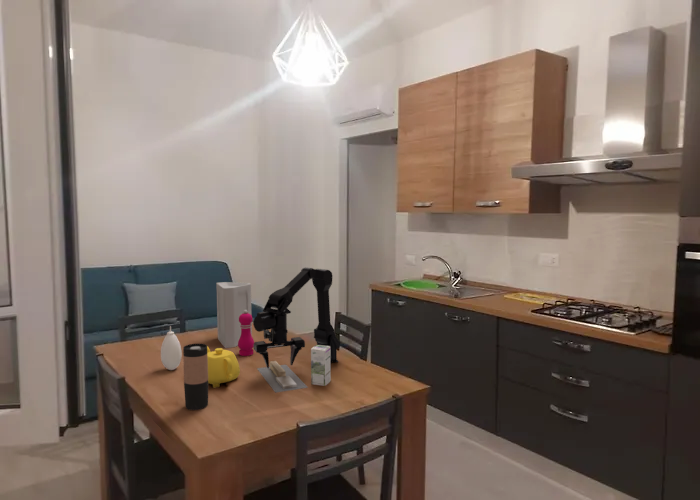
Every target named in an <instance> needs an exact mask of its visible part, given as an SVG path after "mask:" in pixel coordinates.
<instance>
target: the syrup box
mask: <svg viewBox="0 0 700 500" xmlns="http://www.w3.org/2000/svg"><path fill="white" fill-rule="evenodd" d="M330 357H331V350H330V346H322V345H317V344H316V345H314V346H313V347H311V349H310V376H311V377H310V378H311V380H310V381H311V382H310V383H311V385H315V386H324V387H326V386H327V385H328V384H329V383H330V382H331V379H332V378H331V376H332V375H331V374H332V373H331V363H330Z"/></svg>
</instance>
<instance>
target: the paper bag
mask: <svg viewBox="0 0 700 500" xmlns="http://www.w3.org/2000/svg"><path fill="white" fill-rule="evenodd" d="M244 310H247V311H248V312H247V313H249V314H251V315H252V283H251V282H229V281H224V282H223V281H222V282H216V313H217V314H216V315H217V316H216V317H217V319H216V320H217V321H216V322H217V339H218V341H219V342H220V343H221V345H222V347H223V348H225V349H229V348H235V347H238V341H239V339H240V336H241V328H240V324H241V323H240V322H239V316H240V315H241V314H243V313H244ZM251 324H252V325H253V321H252V322H251ZM252 325H251V326H252ZM252 329H253V328H252V327H251V335H252V336H253V330H252Z"/></svg>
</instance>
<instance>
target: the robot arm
mask: <svg viewBox="0 0 700 500" xmlns="http://www.w3.org/2000/svg"><path fill="white" fill-rule="evenodd" d="M309 281H311V282H312V285H313V287H314V288H315V290H316V302H317V316H318V317H317V319H318V325H317V326H316V328H314V329H313V333H314V334H313V338H314V339H315V343H316V345H322V346H330V350H331V357H330V364H331V363H338V362H339V360H338V359H337V351H338V350H337V349H339V348H340V346H341V341H340V340H339V339H338V338H337V337H336V332H335V329H334V326H333V325H332V324H331V310H330V309H331V307H330V306H331V305H330V288H331V287H332V285H333V272H332V271H331V270H330V269H323V268H313V267H303V268H302V269H301V271H300V272H298V273H297V274H296V276H295V277H293V278H292V279H291V280H290V281H289V282H288V283H287V284H286V285H285V286H284V287H282V288H280V289H277V290H274V291H273V292H272V293H271V294H270V295H269V296H268V299H267V302H266V304H265V305H264V307H263V309H262V311H261V312H257V313H256V316H255V317H254V319H253V320H252V325H253V328H254V329H255V331H257V332H259V333H260V332H261V333H262V332H263V339H264V340H261V341H254V347H253V351H255V352H256V354H257V353H258V354H259V355H260V356H262V357H263V360H264V363H265V367H267V368H269V367H270V361H269V351H268V349H274V348H282V347H289V346H290V357H289V361H290V362H289V364H290V366H293V364H294V363H295V359H296V357H297V355H298V353H299V352H300V351H301V350H303V349H302V348H305V347H306V341H305V340H304V339H303V338H302V337H300V336H295V337H291V338H290V340H288V327H287V326H288V318H287V317H288V316H287V315H288V314H291V313H292V311H291V310H290V309H289V308H288V307H290V305H291V303H292V302H293V299H294V296H295V295H296V294H297V293H298V292H299V291H300V290H301V289H302V288H303V287H304V286H305V285H306V284H307V283H308V282H309ZM267 339H268V343H267V342H266V341H265V340H267Z"/></svg>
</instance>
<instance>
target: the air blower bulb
mask: <svg viewBox="0 0 700 500" xmlns="http://www.w3.org/2000/svg"><path fill="white" fill-rule="evenodd" d="M182 352H183V350H182V346H181V342H180V341H179V339H178V336H177V335H176V334H175V332H174V331H172V326H171V325H169V331H168V332H167V333H166V335H165V337H164V339H163V340H162V344H161V347H160V360H161V363H162V365H163V366H164V368H166V369H167V370H169V371H174V370H175V369H177V367H179V366H180V363H181V362H182V357H183V356H182V355H183V353H182Z"/></svg>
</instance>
